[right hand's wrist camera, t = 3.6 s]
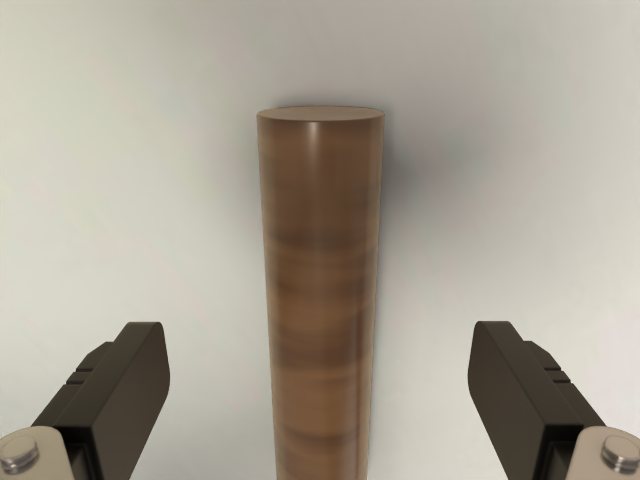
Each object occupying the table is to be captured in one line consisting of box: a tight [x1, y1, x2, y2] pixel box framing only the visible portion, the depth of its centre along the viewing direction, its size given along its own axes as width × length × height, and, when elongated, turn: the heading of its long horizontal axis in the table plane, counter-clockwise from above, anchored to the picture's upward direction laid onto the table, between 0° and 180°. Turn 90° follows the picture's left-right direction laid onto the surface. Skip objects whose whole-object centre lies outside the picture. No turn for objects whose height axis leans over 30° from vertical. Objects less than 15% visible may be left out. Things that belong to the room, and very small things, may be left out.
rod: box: [257, 106, 385, 480], centre depth 26 cm, size 26×6×6 cm, turn 0°
